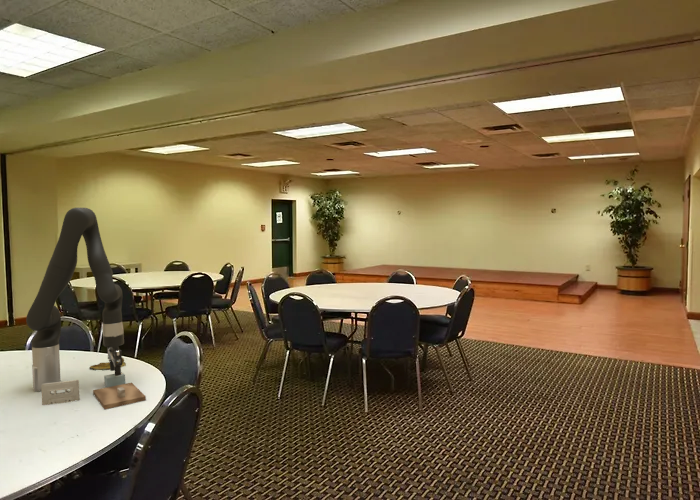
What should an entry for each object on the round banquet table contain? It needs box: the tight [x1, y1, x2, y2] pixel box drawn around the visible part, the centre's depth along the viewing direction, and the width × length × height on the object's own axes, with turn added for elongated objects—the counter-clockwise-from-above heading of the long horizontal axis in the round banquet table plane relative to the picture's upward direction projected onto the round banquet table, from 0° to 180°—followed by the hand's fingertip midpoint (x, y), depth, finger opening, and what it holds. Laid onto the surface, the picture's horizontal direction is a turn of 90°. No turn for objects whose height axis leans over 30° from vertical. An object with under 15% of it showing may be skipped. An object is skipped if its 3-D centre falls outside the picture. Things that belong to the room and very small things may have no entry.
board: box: [92, 382, 147, 410], centre depth 183 cm, size 14×20×4 cm
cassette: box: [40, 379, 81, 406], centre depth 178 cm, size 12×2×8 cm, turn 113°
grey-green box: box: [103, 371, 126, 388], centre depth 197 cm, size 7×5×4 cm
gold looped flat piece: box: [89, 357, 127, 371], centre depth 221 cm, size 9×5×15 cm
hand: (115, 372), depth 196 cm, fingers open, 8 cm apart
